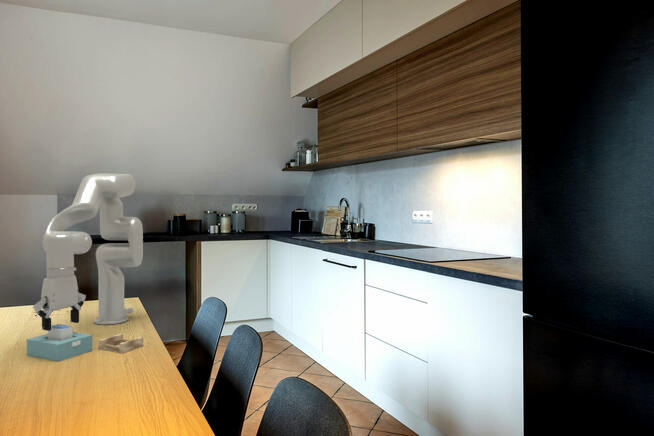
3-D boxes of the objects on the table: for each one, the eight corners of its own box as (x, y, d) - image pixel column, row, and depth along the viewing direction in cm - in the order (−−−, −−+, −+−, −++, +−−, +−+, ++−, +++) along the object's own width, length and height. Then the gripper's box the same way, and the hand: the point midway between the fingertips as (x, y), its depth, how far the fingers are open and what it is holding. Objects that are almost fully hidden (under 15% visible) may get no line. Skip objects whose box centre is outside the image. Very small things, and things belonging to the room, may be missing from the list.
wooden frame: (120, 342, 159) (120, 333, 159) (143, 345, 156) (143, 337, 155) (98, 349, 151) (98, 340, 151) (121, 353, 147) (121, 344, 147)
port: (62, 345, 156) (62, 330, 156) (92, 350, 150) (92, 335, 150) (26, 355, 145) (26, 339, 145) (58, 361, 139) (58, 344, 139)
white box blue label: (59, 346, 151) (59, 323, 150) (72, 349, 148) (72, 325, 148) (47, 350, 147) (47, 326, 147) (60, 352, 144) (61, 328, 144)
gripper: (76, 268, 157) (76, 318, 157) (25, 275, 141) (26, 331, 141) (92, 269, 154) (93, 321, 154) (42, 277, 138) (43, 334, 138)
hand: (61, 326), depth 148 cm, fingers open, 9 cm apart
